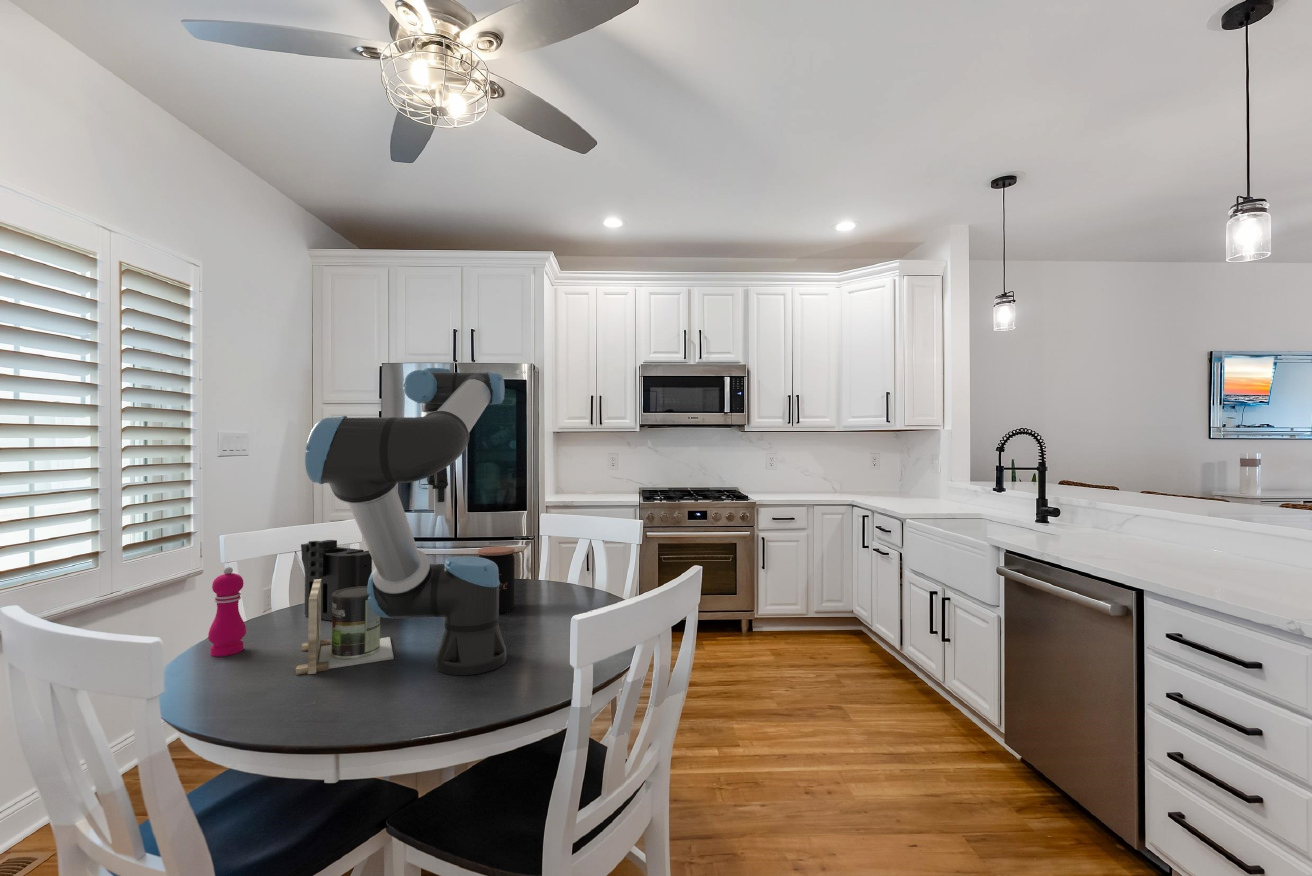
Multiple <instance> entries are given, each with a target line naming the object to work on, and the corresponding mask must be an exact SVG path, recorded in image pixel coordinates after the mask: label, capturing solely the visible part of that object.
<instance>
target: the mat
mask: <svg viewBox="0 0 1312 876" xmlns="http://www.w3.org/2000/svg"><path fill="white" fill-rule="evenodd" d="M331 653H332V644H331V645H327V646H321V649H320V651H319V657H318V662H324V661H329V665H328V670H330V669H337V668H342V667H343V668H344V667H349V666H356V665H357V666H358V665H363V664H369V663H374V662H375V663H376V662H381V661H382V662H383V661H389V660H394V653H393V647H392V643H391V637H390V636H386V637H380V650H379V651H378V652H376V653H374V654H372V655H369V656H366V657H362V658H356V659H337V658H334V657H332V655H331Z"/></svg>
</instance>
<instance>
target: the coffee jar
mask: <svg viewBox="0 0 1312 876" xmlns="http://www.w3.org/2000/svg"><path fill="white" fill-rule="evenodd" d="M514 552H515V548H514V547H512V546H508V545H507V546H506V545H501V546H500V545H495V546H492V545H491V546H485V547H481V548H478V549H477V554H478V555H479V556H478V557H481V558H485V559H488V560H491V561H493V562H494V563H495V564H496V565H497V566H498V571H499V581H500V585H499V613H502V614H504V613H503V612H506V613H508V612H507V611H509V610H511V609H512V610H513V608H514V607H515V564H516V563H515V555H514ZM512 610H511V611H512ZM509 612H510V611H509Z"/></svg>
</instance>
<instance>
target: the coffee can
mask: <svg viewBox="0 0 1312 876" xmlns="http://www.w3.org/2000/svg"><path fill="white" fill-rule="evenodd" d="M367 588H368V586H358V587H350V588H344V589H340V590H338V591H335V592H333V593H332V598H333V600H332V621H331V623H332V624H331V645H332V653H331V655H332V657H334V658H337V659H356V658H362V657H366V656H369V655H372V654H374V653H376V652H378V651H379V650H380V638H381V617H380V616H378V615H376V614H375V613H374V612H373V611H372V609H371V607H370V604H369V601H368V597H369V594H368V593H367Z"/></svg>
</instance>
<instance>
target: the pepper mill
mask: <svg viewBox="0 0 1312 876" xmlns="http://www.w3.org/2000/svg"><path fill="white" fill-rule="evenodd" d="M233 571H234V570H233V568H232V567H231V566H227V567H225V568H224V569H223V574H220V575H217V577H216V578H214V579H213V582H212V585H211V589H212V592H213V593H215V595H214V603H216V614H215V617H214V619H213V621H212V624H211V625H210V627H209V630H208V634H207V638H208V641H209V642H211V644H213V645H212V646H210V656H212V657H218V658H219V657H220V658H221V657H227V656H228V657H229V656H233V655H235V654H239V653H241V652H242V651H244V641H243V640H242V639H243V638H244V637H245V636H246V634H247V625H246V623H245V622H244V619H243V618H242V616H241V614H240V609H239V600H241V599H242V597H241V595H242V593H241V592H240V591H241V590H243V589H242V588H244V584H245V583H244V579H243V577H242V576H241V575H240V574H237V573H233Z"/></svg>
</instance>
